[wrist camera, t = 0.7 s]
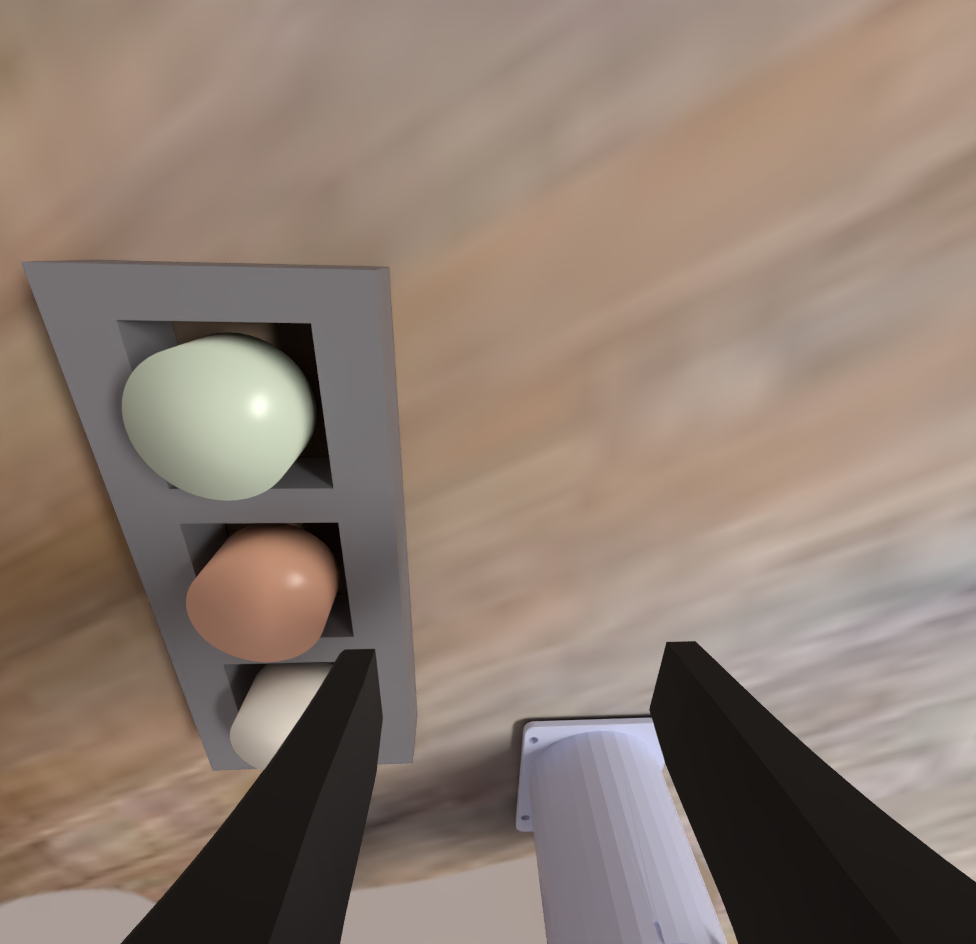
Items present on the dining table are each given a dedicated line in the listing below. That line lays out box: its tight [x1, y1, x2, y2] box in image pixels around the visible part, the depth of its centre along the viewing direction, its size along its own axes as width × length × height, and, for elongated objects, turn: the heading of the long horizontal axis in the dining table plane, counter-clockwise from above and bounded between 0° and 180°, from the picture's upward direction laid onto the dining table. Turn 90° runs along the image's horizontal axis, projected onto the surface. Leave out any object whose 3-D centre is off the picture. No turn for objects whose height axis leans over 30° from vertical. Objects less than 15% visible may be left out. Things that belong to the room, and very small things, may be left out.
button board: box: [21, 260, 417, 771], centre depth 18 cm, size 21×9×2 cm, turn 179°
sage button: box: [122, 333, 317, 501], centre depth 13 cm, size 4×4×2 cm
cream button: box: [230, 662, 333, 771], centre depth 19 cm, size 4×4×2 cm
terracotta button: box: [186, 523, 340, 662], centre depth 16 cm, size 4×4×2 cm
